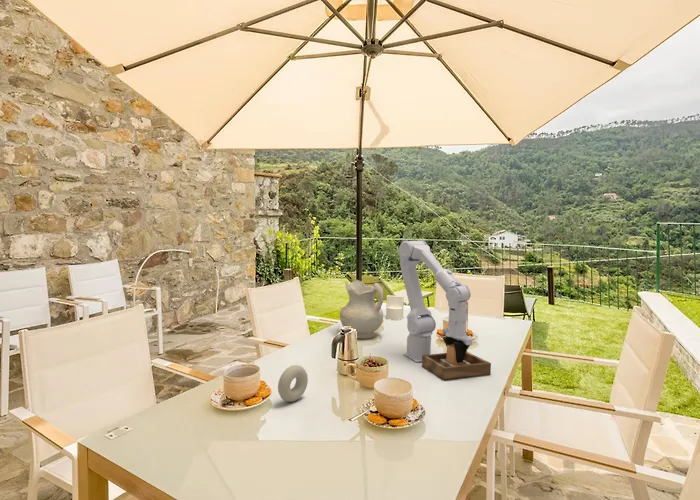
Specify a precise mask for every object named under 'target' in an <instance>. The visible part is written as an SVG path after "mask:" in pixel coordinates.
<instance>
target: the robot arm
mask: <svg viewBox="0 0 700 500" xmlns="http://www.w3.org/2000/svg"><path fill="white" fill-rule="evenodd" d="M397 251H398V255H399V265H400V272H401V275H402V278H403V283H404V287H405V288H404V289H405V291H406V296H407V299H408V304H409V309H410V311H409V313H408V314H407V316H406V319H407V323H406V326H407V327H406V328H407V330H408V332H409V334H408V335H407V338H406V352H405V353H404V356H406V357H408V358H409V359H411V360H412V361H414V362H415V363H422V355H431V352H432V351H431V348H432V335H433V332H434V331H435V330H436V327H437V325H436V320H435V318H434V316H433V315H432V314H433V313H432V311H430V310H429V309H428V308H427V307H426V305H425V301H424V298H423V292H422V288H421V285H420V280H419V277H418V276H419V275H418V273H417V267H416V266H417V265H418V264H419V262H423V264H425V265H426V267H427V268H429V270H431V272H433V274H434V275H435V278H434V279H435V281H436V282H437V284H438V285H439V286H440V287H441V288H442V290H443V291H444V293H445V297H446V301H447V306H448V328H447V327H446V328H442V333H441V334H442V335H443V336H444V335H445V337H442V340H443V342H444V344H445V346H446V348H447V345H452V344H454V347H455V351H456V361H457V363H460V362H463V360H464V356H465V353H466V351H467V352H468V349H469V347H471V346H472V345H473V338H471V337H470V336H469V335H468V334H465V333H466V308H467V302H468V301H469V300H470V298H471V290H470V288H469V287H468V285H466V284H462V283H461V281H460V280H458V279H457V277H455V275H454V274H453V272H452V270H449V269H448V268H443V266H442V265H441V264H440V263H439V261H438V260H437V258H436V257H435V255H434V254H433V253H432V251H431V247H430V246H429V245H428V244H427V242H426V241H425V240H403V241H402V242H401V243H400V245H399V246H398V249H397Z"/></svg>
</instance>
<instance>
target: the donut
mask: <svg viewBox="0 0 700 500" xmlns="http://www.w3.org/2000/svg"><path fill="white" fill-rule="evenodd" d="M294 379H295V383H294V386H292V388H291V384H292V382H293V380H294ZM308 380H309V379H308V373H307V370H306V369H304V367H303V366H301V365H298V364H294V365H290V366H289V367H287V368H285V370H284V371H283V372H282V373H281V375H280V377H279V380H278V382H277V383H278V384H277V392H278V394H279V396H280V398H281V399H282V401H284V402H289V403H292V402H296V401H298V400H299V399H300V398H301V397H302V396H303V395H304V393H305V392H306V389H307V387H308V383H309V381H308Z"/></svg>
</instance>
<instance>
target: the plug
mask: <svg viewBox="0 0 700 500" xmlns="http://www.w3.org/2000/svg"><path fill="white" fill-rule="evenodd" d="M446 353H447V357H446V361H447V362H449V363H450V364H452V365H460V364H463V362H460V363H457V361H456V351H455V347H454V344H452V345H447V347H446Z"/></svg>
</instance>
